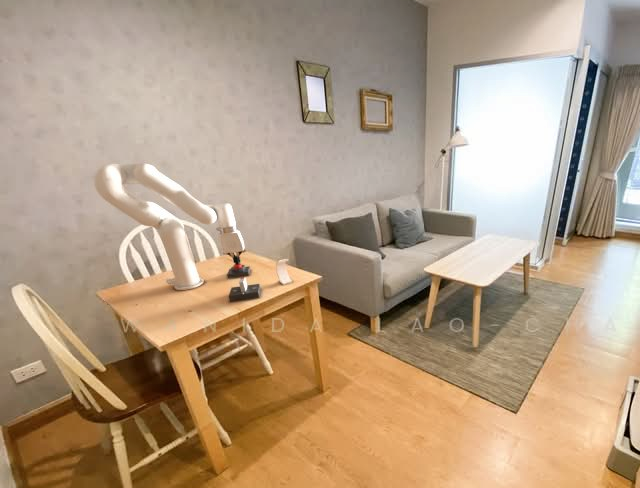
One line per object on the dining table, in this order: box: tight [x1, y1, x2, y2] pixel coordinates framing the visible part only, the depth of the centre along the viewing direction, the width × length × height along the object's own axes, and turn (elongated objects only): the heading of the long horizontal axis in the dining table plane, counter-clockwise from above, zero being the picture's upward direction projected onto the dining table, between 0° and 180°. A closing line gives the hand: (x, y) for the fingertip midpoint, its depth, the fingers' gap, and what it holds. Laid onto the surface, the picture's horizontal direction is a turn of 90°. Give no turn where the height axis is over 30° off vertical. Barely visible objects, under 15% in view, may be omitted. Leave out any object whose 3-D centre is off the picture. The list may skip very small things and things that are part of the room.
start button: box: [233, 263, 242, 269], centre depth 170 cm, size 4×4×2 cm
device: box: [228, 283, 262, 303], centre depth 149 cm, size 12×10×3 cm
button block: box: [226, 264, 252, 279], centre depth 171 cm, size 10×8×4 cm
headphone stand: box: [275, 258, 293, 286], centre depth 160 cm, size 5×6×12 cm
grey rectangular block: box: [238, 276, 248, 292], centre depth 147 cm, size 6×2×5 cm, turn 16°
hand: (237, 263), depth 170 cm, fingers closed
